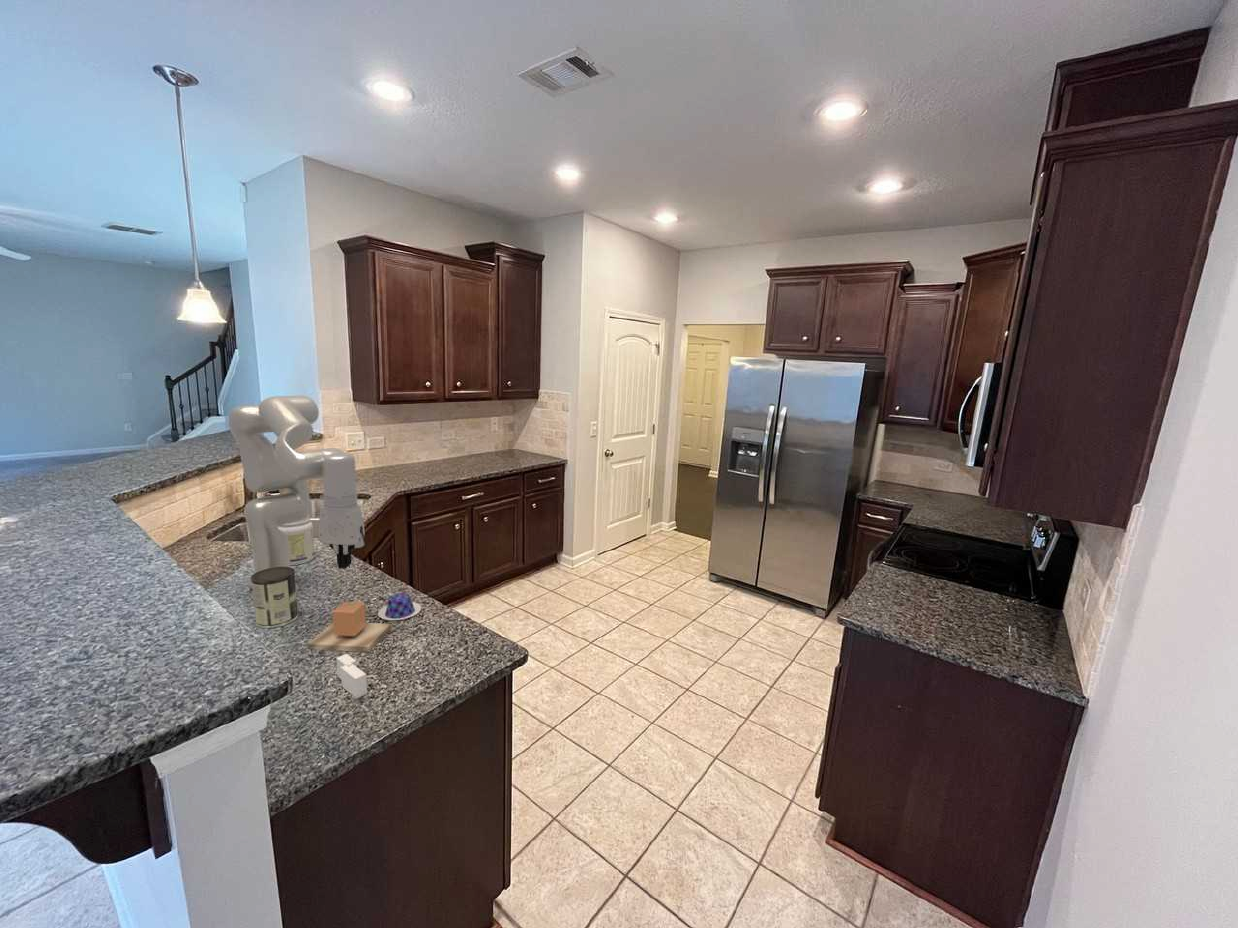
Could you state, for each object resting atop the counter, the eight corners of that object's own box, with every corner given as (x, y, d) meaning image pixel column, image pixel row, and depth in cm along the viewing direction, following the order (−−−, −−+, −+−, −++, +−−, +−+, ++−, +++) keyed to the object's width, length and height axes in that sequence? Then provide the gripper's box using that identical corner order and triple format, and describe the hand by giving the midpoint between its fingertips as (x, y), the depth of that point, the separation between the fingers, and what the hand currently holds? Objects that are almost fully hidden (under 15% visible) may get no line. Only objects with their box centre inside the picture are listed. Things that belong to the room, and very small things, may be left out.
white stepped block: (373, 702, 113) (372, 678, 112) (316, 708, 110) (314, 685, 109) (385, 664, 127) (384, 643, 126) (335, 669, 124) (334, 647, 123)
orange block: (334, 634, 134) (332, 611, 133) (346, 624, 139) (344, 602, 138) (354, 636, 134) (353, 612, 133) (366, 625, 139) (364, 603, 138)
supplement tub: (294, 553, 195) (290, 510, 192) (323, 555, 193) (320, 513, 190) (268, 564, 183) (264, 520, 180) (299, 567, 182) (295, 522, 178)
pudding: (369, 620, 148) (368, 603, 147) (392, 601, 159) (391, 586, 158) (408, 624, 146) (407, 607, 145) (428, 605, 158) (428, 589, 157)
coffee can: (281, 608, 152) (277, 564, 149) (306, 615, 149) (303, 569, 146) (246, 624, 142) (241, 577, 140) (273, 631, 139) (268, 583, 136)
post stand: (308, 649, 131) (305, 618, 130) (335, 625, 143) (332, 597, 142) (369, 652, 131) (367, 621, 129) (390, 628, 143) (389, 600, 141)
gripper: (303, 502, 128) (308, 570, 132) (361, 506, 128) (364, 574, 132) (321, 495, 136) (325, 559, 139) (376, 498, 135) (379, 563, 139)
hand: (344, 566), depth 136 cm, fingers closed
